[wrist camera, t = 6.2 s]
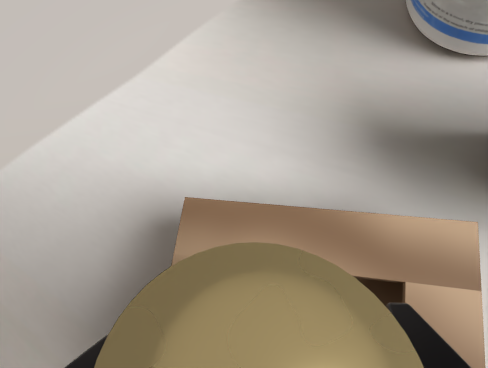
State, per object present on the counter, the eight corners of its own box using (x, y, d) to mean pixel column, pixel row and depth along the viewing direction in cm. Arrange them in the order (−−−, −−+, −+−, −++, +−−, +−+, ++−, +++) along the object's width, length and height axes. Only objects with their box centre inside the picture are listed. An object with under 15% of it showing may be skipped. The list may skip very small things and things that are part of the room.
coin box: (449, 544, 17) (499, 629, 12) (168, 471, 19) (120, 517, 15) (442, 245, 21) (477, 221, 16) (211, 222, 24) (184, 197, 19)
